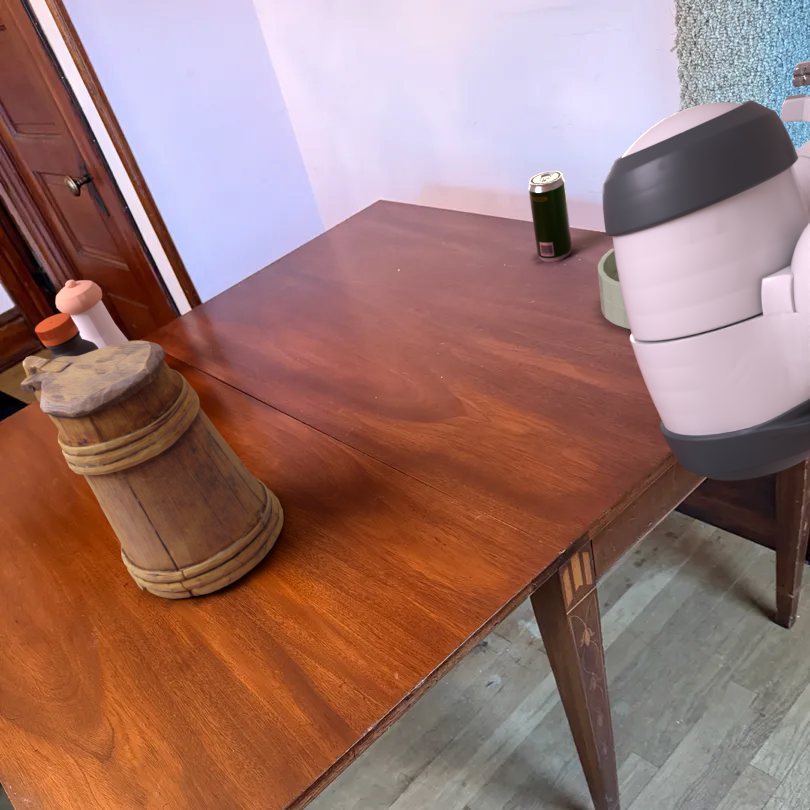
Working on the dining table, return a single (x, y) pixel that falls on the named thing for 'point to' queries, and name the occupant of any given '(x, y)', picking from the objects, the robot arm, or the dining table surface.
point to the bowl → (611, 291)
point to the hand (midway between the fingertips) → (788, 91)
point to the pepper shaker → (89, 312)
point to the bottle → (63, 337)
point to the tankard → (156, 468)
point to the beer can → (550, 216)
